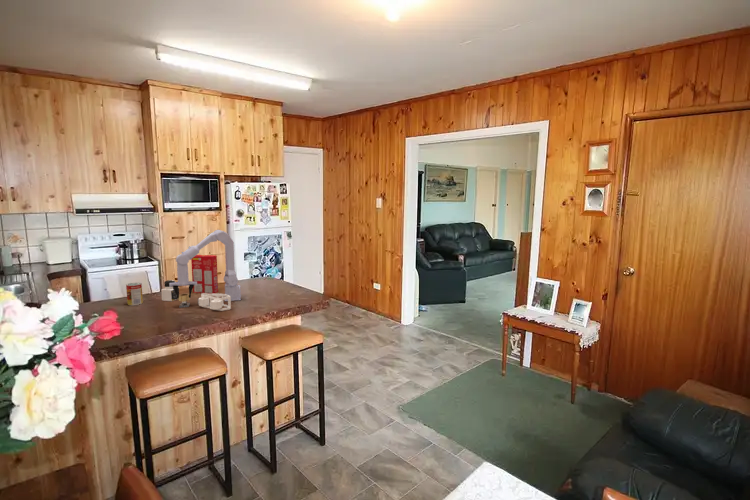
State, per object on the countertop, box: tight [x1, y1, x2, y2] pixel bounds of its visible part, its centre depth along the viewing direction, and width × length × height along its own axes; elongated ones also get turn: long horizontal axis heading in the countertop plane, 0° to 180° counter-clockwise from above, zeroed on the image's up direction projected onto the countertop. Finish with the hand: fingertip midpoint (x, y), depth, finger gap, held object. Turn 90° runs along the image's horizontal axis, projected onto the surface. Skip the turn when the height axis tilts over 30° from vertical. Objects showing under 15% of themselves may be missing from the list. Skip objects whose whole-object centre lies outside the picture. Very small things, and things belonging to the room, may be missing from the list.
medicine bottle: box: [161, 279, 180, 302], centre depth 249 cm, size 7×7×12 cm
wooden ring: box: [178, 293, 191, 302], centre depth 235 cm, size 6×6×3 cm
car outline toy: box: [198, 293, 232, 312], centre depth 233 cm, size 20×11×7 cm, turn 59°
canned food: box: [125, 282, 144, 306], centre depth 239 cm, size 8×8×12 cm
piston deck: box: [178, 301, 191, 309], centre depth 236 cm, size 5×6×5 cm
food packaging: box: [191, 254, 219, 294], centre depth 266 cm, size 15×5×25 cm, turn 84°
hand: (184, 297), depth 235 cm, fingers closed on wooden ring, 6 cm apart
